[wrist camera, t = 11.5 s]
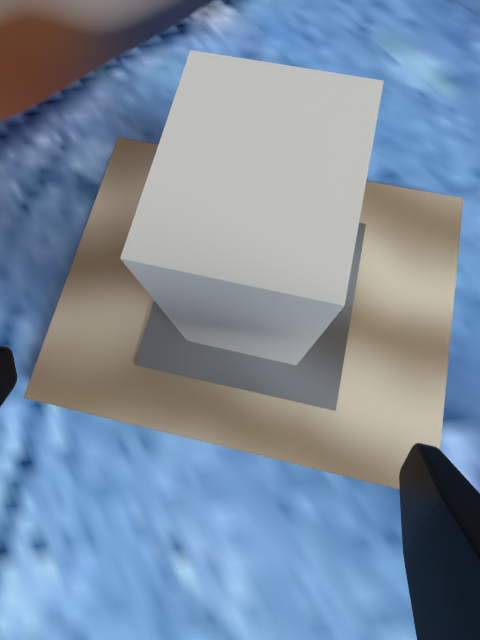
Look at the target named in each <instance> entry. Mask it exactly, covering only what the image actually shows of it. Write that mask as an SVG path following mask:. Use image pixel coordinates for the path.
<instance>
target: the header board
mask: <svg viewBox="0 0 480 640" xmlns="http://www.w3.org/2000/svg"><path fill="white" fill-rule="evenodd" d="M158 145H159V144H154V143H148V142H142V141H137V140H131V139H125V138H120V137H118V139H117V142H116V145H115V148H114V150H113V153H112V156H111V159H110V161H109V164H108V167H107V169H106V172H105V175H104V178H103V180H102V183H101V186H100V189H99V191H98V194H97V197H96V200H95V202H94V205H93V208H92V211H91V213H90V216H89V219H88V222H87V224H86V227H85V230H84V233H83V235H82V238H81V241H80V244H79V246H78V249H77V252H76V255H75V257H74V260H73V263H72V266H71V268H70V271H69V274H68V277H67V279H66V282H65V285H64V288H63V290H62V293H61V296H60V299H59V301H58V304H57V307H56V310H55V312H54V315H53V318H52V321H51V323H50V326H49V329H48V332H47V334H46V337H45V340H44V343H43V345H42V348H41V351H40V354H39V356H38V359H37V362H36V365H35V367H34V370H33V373H32V376H31V378H30V381H29V384H28V387H27V389H26V392H25V395H24V398H27V399H31V400H35V401H39V402H43V403H47V404H52V405H56V406H60V407H64V408H68V409H72V410H76V411H80V412H84V413H88V414H93V415H97V416H101V417H105V418H109V419H113V420H117V421H121V422H125V423H129V424H133V425H138V426H142V427H146V428H150V429H154V430H158V431H162V432H166V433H170V434H174V435H179V436H183V437H187V438H191V439H195V440H199V441H203V442H207V443H211V444H215V445H220V446H224V447H228V448H232V449H236V450H240V451H244V452H248V453H252V454H256V455H261V456H265V457H269V458H273V459H277V460H281V461H285V462H289V463H293V464H297V465H302V466H306V467H310V468H314V469H318V470H322V471H326V472H330V473H334V474H338V475H343V476H347V477H351V478H355V479H359V480H363V481H367V482H371V483H375V484H379V485H383V486H388V487H392V488H396V489H400V488H399V474H400V469H401V467H402V465H403V463H404V461H405V459H406V457H407V456H408V454H409V452H410V450H411V448H412V446H413V445H414V444H415V443H423V444H427V445H431V446H435V447H437V448H438V449H439V450H440V445H441V434H442V423H443V412H444V401H445V391H446V380H447V369H448V358H449V348H450V337H451V326H452V315H453V305H454V294H455V283H456V272H457V261H458V251H459V240H460V229H461V218H462V208H463V198H459V197H453V196H447V195H442V194H436V193H430V192H425V191H419V190H413V189H408V188H402V187H397V186H391V185H385V184H380V183H374V182H368V181H366V185H365V191H364V197H363V203H362V208H361V214H360V220H359V226H358V231H357V237H356V243H355V249H354V254H353V260H352V266H351V272H350V278H349V283H348V289H347V295H346V301H345V306H344V307H343V308H342V310H341V311H340V312H339V313H338V315H337V316H336V317H335V318H334V320H333V321H332V322H331V323H330V324H329V326H328V327H327V328H326V329H325V331H324V332H323V333H322V334H321V336H320V337H319V338H318V339H317V341H316V342H315V343H314V344H313V345H312V347H311V348H310V349H309V350H308V352H307V353H306V354H305V355H304V357H303V358H302V359H301V360H300V361H299V363H298V364H297V365H292V364H287V363H283V362H278V361H274V360H270V359H265V358H261V357H256V356H252V355H248V354H243V353H239V352H234V351H230V350H226V349H221V348H217V347H212V346H208V345H204V344H199V343H195V342H190V341H187V340H186V339H185V338H184V336H183V335H182V334H181V333H180V332H179V330H178V329H177V328H176V327H175V325H174V324H173V323H172V322H171V320H170V319H169V318H168V317H167V316H166V314H165V313H164V312H163V311H162V309H161V308H160V307H159V306H158V304H157V303H156V302H155V301H154V300H153V298H152V297H151V296H150V295H149V293H148V292H147V291H146V290H145V288H144V287H143V286H142V285H141V284H140V282H139V281H138V280H137V279H136V277H135V276H134V275H133V274H132V272H131V271H130V270H129V269H128V268H127V266H126V265H125V264H124V263H123V261H122V260H121V259H120V257H121V254H122V251H123V248H124V245H125V242H126V239H127V237H128V234H129V231H130V228H131V225H132V222H133V219H134V216H135V213H136V210H137V207H138V204H139V201H140V198H141V195H142V192H143V189H144V186H145V183H146V180H147V177H148V174H149V171H150V168H151V166H152V163H153V160H154V157H155V154H156V151H157V148H158Z"/></svg>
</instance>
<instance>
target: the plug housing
mask: <svg viewBox="0 0 480 640" xmlns="http://www.w3.org/2000/svg"><path fill="white" fill-rule="evenodd" d="M383 82H384V81H382V80H375V79H369V78H363V77H357V76H350V75H344V74H338V73H331V72H325V71H319V70H312V69H306V68H300V67H293V66H287V65H281V64H275V63H268V62H262V61H256V60H249V59H243V58H237V57H230V56H224V55H218V54H212V53H205V52H199V51H193V50H190V53H189V56H188V59H187V62H186V65H185V68H184V71H183V74H182V77H181V80H180V83H179V86H178V89H177V92H176V95H175V97H174V100H173V103H172V106H171V109H170V112H169V115H168V118H167V121H166V124H165V127H164V130H163V133H162V136H161V139H160V142H159V145H158V148H157V151H156V154H155V157H154V160H153V163H152V166H151V168H150V171H149V174H148V177H147V180H146V183H145V186H144V189H143V192H142V195H141V198H140V201H139V204H138V207H137V210H136V213H135V216H134V219H133V222H132V225H131V228H130V231H129V234H128V237H127V239H126V242H125V245H124V248H123V251H122V254H121V257H120V259H121V260H122V261H123V263H124V264H125V265H126V266H127V268H128V269H129V270H130V271H131V272H132V274H133V275H134V276H135V277H136V279H137V280H138V281H139V282H140V284H141V285H142V286H143V287H144V288H145V290H146V291H147V292H148V293H149V295H150V296H151V297H152V298H153V300H154V301H155V302H156V303H157V304H158V306H159V307H160V308H161V309H162V311H163V312H164V313H165V314H166V316H167V317H168V318H169V319H170V320H171V322H172V323H173V324H174V325H175V327H176V328H177V329H178V330H179V332H180V333H181V334H182V335H183V336H184V338H185V339H186V340H187V341H190V342H195V343H199V344H204V345H208V346H212V347H217V348H221V349H226V350H230V351H234V352H239V353H243V354H248V355H252V356H256V357H261V358H265V359H270V360H274V361H278V362H283V363H287V364H292V365H297V364H298V363H299V361H300V360H301V359H302V358H303V357H304V355H305V354H306V353H307V352H308V350H309V349H310V348H311V347H312V345H313V344H314V343H315V342H316V341H317V339H318V338H319V337H320V336H321V334H322V333H323V332H324V331H325V329H326V328H327V327H328V326H329V324H330V323H331V322H332V321H333V320H334V318H335V317H336V316H337V315H338V313H339V312H340V311H341V310H342V308H343V307H344V306H345V301H346V295H347V289H348V283H349V278H350V272H351V266H352V260H353V254H354V249H355V243H356V237H357V231H358V226H359V220H360V214H361V208H362V203H363V197H364V191H365V185H366V180H367V174H368V168H369V162H370V157H371V151H372V145H373V139H374V134H375V128H376V122H377V116H378V111H379V105H380V99H381V93H382V87H383Z"/></svg>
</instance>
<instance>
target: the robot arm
mask: <svg viewBox="0 0 480 640" xmlns="http://www.w3.org/2000/svg"><path fill="white" fill-rule="evenodd" d="M16 381H17V372H16V367H15V362H14V357H13V353H12V351H11V350H10V349H9V348H8V347H4V346H0V407H1V405H2V404H3V402H4V401H5V399H6V398H7V396H8V395H9V394H10V392H11V391H12V389H13V388H14V386H15V384H16ZM399 488H400V507H401V525H402V543H403V554H404V562H405V569H406V575H407V581H408V587H409V593H410V599H411V605H412V611H413V617H414V624H415V630H416V636H417V640H480V493H479V492H478V491H477V490H476V489H475V488H474V487H473V486H472V485H471V483H470V482H469V481H468V480H467V479H466V478H465V477H464V476H463V475H462V474H461V472H460V471H459V470H458V469H457V468H456V467H455V466H454V465H453V464H452V463H451V462H450V460H449V459H448V458H447V457H446V456H445V455H444V454H443V453H442V452H441V451H440V450H439V449H438V448H437V447H435V446H431V445H427V444H423V443H415V444H414V445H413V446H412V448H411V450H410V452H409V454H408V456H407V457H406V459H405V461H404V463H403V465H402V467H401V469H400V474H399Z"/></svg>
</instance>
